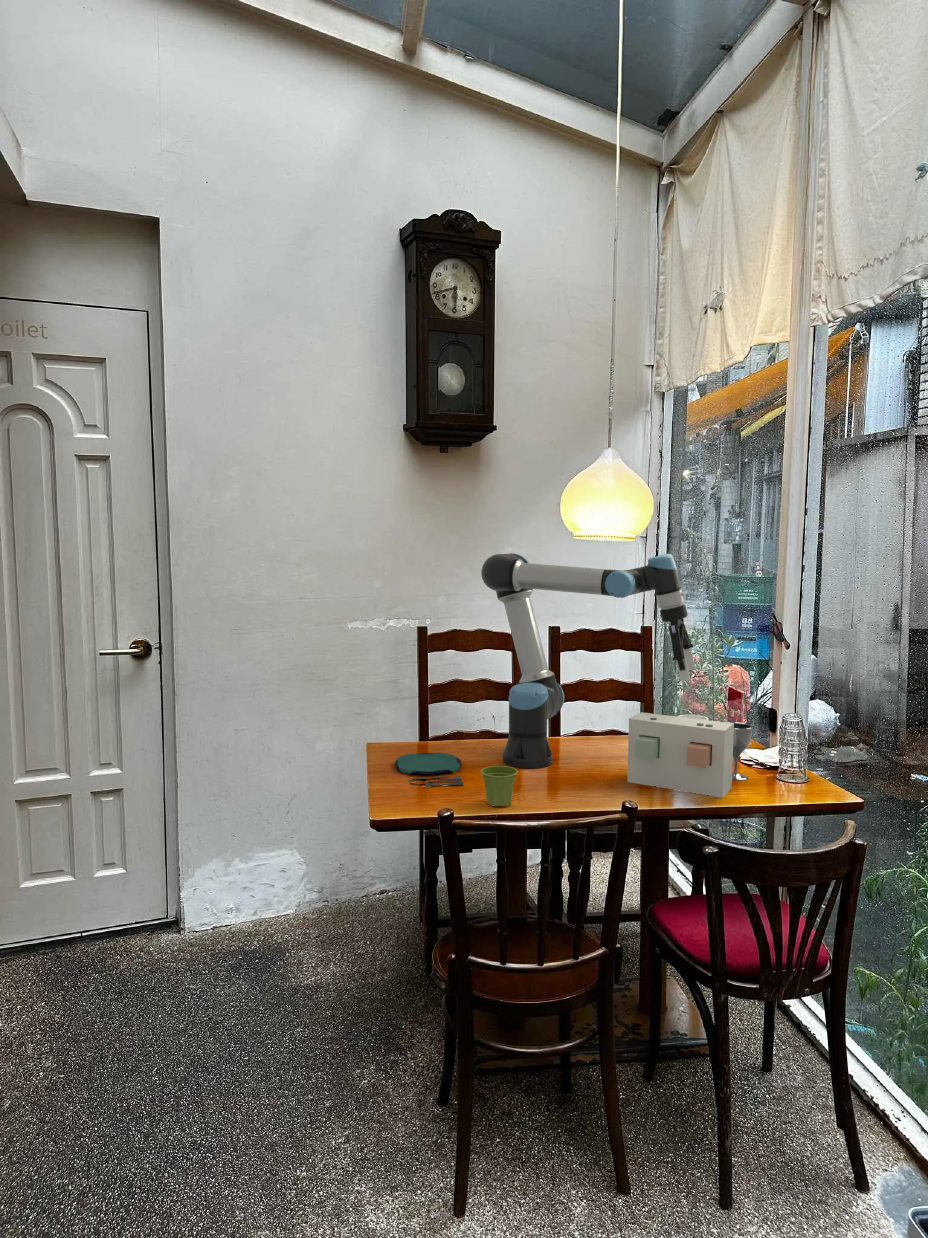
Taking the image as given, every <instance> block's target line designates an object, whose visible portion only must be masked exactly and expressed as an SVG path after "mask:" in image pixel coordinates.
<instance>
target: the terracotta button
mask: <svg viewBox="0 0 928 1238" xmlns="http://www.w3.org/2000/svg"><path fill="white" fill-rule="evenodd" d="M711 763H712V744H704V743H697V742H693V743H691V744H690V745H689V746H687V765H689V766H695V767H702V768H707V767H708V766H709V765H710V764H711Z"/></svg>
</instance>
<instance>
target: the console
mask: <svg viewBox="0 0 928 1238" xmlns="http://www.w3.org/2000/svg"><path fill="white" fill-rule="evenodd" d="M642 735H645V736H653V737H660V754H659V756H658V757H657V758H655V759H654V760H649V759H643V758H636V757H635V748H636V739H637V738H639V737H640V736H642ZM733 737H734V723H728V722H726V721H725V722H724V721H717V720H716V721H715V720H701V719H693V718H684V717H677V716H674V715H665V714H660V713H659V714H658V713H649V712H642V711H641V712H638V713H637V714H635V715H633V716H632V717H630V718H628V742H627V743H628V744H627V745H628V746H627V747H628V749H627V779H626V781H627V783H629V784H630V783H631V784H637V785H643V786H649V787H654V786H656V788H660V787H661V789H665V788H669V789H668V790H671V789H675V790H674V791H677V790H680V791H679V792H683V791H687V792H686V793H689V792H692V793H691V794H695V793H696V794H697V795H701V794H702V796H707V795H709V796H708V797H712V798H718V799H723V798H724V797H725V796H726V795H727V794H728V793H729V792H730V791H731V790H732V789H733V788H732V785H733V780H732V773H733V765H734V764H733V763H734V758H733ZM693 742H697V743H704V744H712V763H711V764H710V765H709V766H708V767H707V768H702V767H695V766H689V765H687V746H689V745H690V744H691V743H693Z"/></svg>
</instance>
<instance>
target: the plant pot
mask: <svg viewBox="0 0 928 1238" xmlns="http://www.w3.org/2000/svg"><path fill="white" fill-rule="evenodd" d="M518 773H519V771H518V769H516V767H513V766H508V765H492V766H491V765H490V766H487V767H486V766H485V767H483V768H481V770H480V774H482V778H483V781H484V788H485V794H486V801H487V802H486V803H487V805H488V804H491V805H494V806H496V807H499V806H507V805H509V804H511V805H512V802H513V801H512V800H513V793H514V786H515V780H516V778H517V777H516V776H517V775H518ZM509 806H510V805H509ZM507 807H508V806H507Z"/></svg>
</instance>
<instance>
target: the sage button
mask: <svg viewBox="0 0 928 1238" xmlns="http://www.w3.org/2000/svg"><path fill="white" fill-rule="evenodd" d="M659 754H660V737H653V736H645V735H642V736H640V737H639V738H637V739H636V748H635V757H636V758H643V759H649V760H654V759H655V758H657V757H658V756H659Z"/></svg>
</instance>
